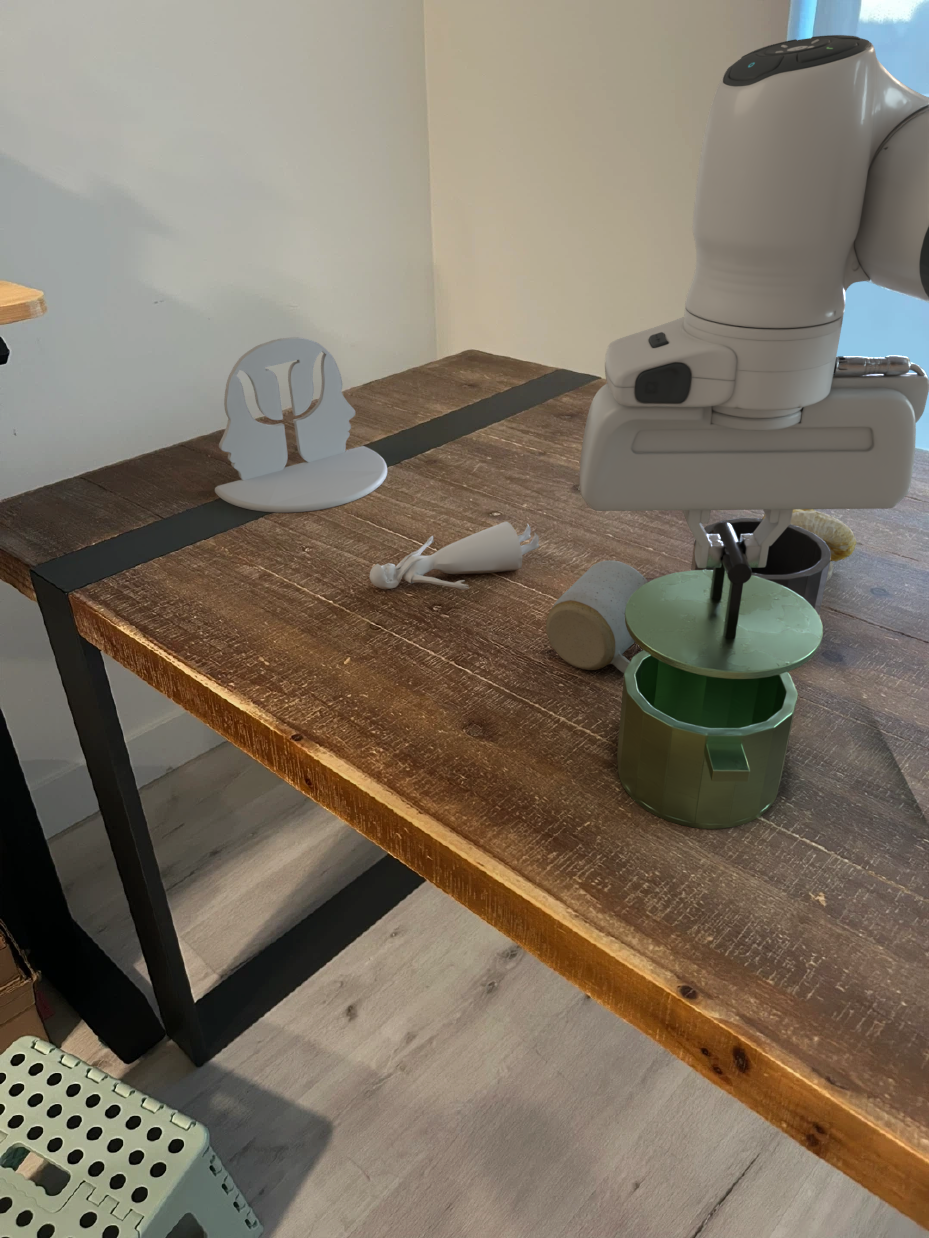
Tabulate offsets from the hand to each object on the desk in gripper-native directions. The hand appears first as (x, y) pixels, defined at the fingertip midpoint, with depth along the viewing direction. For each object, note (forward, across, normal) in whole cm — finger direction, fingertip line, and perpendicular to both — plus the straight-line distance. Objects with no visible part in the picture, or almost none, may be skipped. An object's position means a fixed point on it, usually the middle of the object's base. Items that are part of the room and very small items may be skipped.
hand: (728, 563), depth 65 cm
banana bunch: (+19, -16, -34) cm, 42 cm away
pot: (+18, 0, 0) cm, 18 cm away
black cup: (+18, -8, -20) cm, 28 cm away
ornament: (+18, +38, -53) cm, 68 cm away
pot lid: (+5, 0, 0) cm, 5 cm away
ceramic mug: (+18, +5, -16) cm, 25 cm away
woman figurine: (+18, +20, -31) cm, 41 cm away
